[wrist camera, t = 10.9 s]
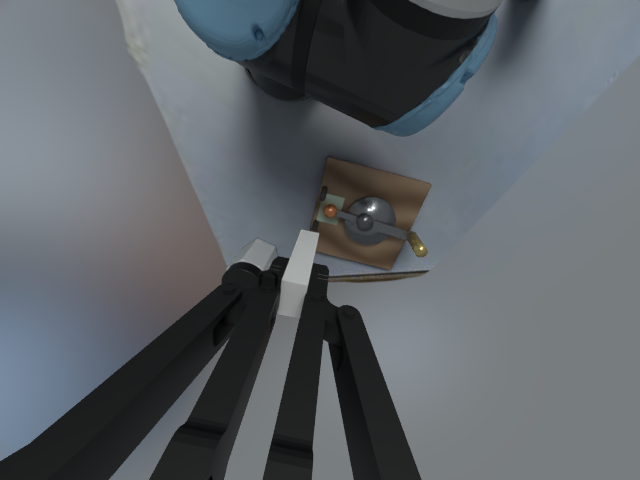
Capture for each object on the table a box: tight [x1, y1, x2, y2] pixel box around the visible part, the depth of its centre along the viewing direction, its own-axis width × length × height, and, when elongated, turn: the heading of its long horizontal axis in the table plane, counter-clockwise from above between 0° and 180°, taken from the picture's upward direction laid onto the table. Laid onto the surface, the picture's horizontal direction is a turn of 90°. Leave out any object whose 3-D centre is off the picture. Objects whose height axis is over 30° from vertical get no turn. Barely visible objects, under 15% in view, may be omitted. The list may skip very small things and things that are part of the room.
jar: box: [222, 238, 277, 289], centre depth 49 cm, size 9×8×12 cm
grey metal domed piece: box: [323, 196, 428, 257], centre depth 42 cm, size 19×10×8 cm, turn 73°
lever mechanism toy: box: [310, 156, 431, 270], centre depth 44 cm, size 20×20×8 cm
